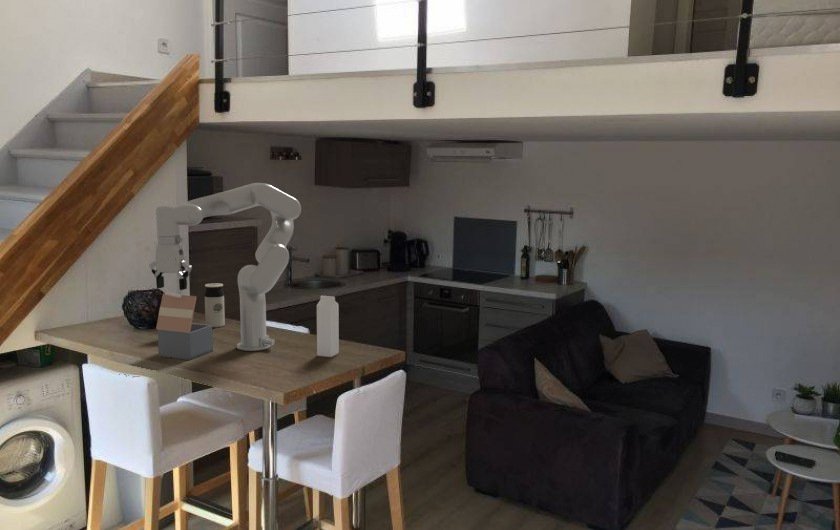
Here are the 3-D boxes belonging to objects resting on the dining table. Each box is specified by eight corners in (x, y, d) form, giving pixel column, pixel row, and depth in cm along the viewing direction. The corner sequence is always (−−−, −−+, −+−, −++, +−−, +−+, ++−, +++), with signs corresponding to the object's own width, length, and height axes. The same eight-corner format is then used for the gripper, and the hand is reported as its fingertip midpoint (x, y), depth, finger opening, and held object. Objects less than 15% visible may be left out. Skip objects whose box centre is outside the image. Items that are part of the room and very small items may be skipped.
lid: (196, 296, 251) (185, 293, 245) (190, 332, 249) (178, 330, 242) (164, 293, 256) (152, 290, 249) (157, 329, 253) (144, 326, 247)
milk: (324, 351, 263) (324, 294, 260) (339, 353, 261) (338, 295, 258) (316, 355, 258) (316, 296, 255) (331, 357, 256) (331, 297, 253)
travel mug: (204, 324, 305) (203, 283, 303) (223, 323, 308) (222, 282, 306) (206, 328, 298) (205, 286, 296) (226, 326, 301) (224, 285, 299)
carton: (212, 351, 262) (212, 325, 261) (191, 359, 250) (190, 332, 249) (181, 347, 267) (180, 322, 265) (158, 356, 255) (157, 329, 253)
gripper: (196, 240, 246) (199, 288, 249) (155, 238, 252) (158, 285, 255) (182, 242, 239) (185, 291, 242) (141, 241, 245) (144, 289, 248)
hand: (171, 288), depth 248 cm, fingers open, 9 cm apart
